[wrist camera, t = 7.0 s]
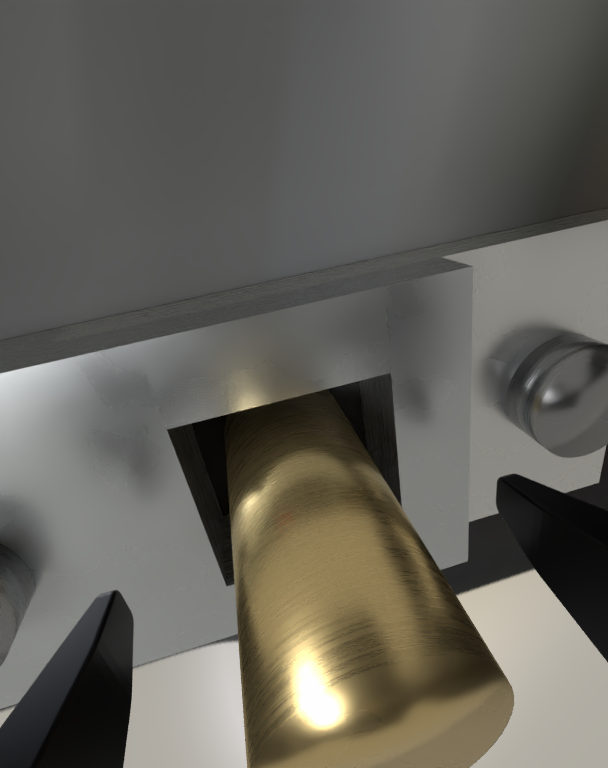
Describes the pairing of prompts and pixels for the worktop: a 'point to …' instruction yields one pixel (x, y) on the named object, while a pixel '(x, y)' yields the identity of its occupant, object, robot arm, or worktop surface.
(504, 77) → the worktop surface
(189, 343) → the plate with square hole
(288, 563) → the brass pin
